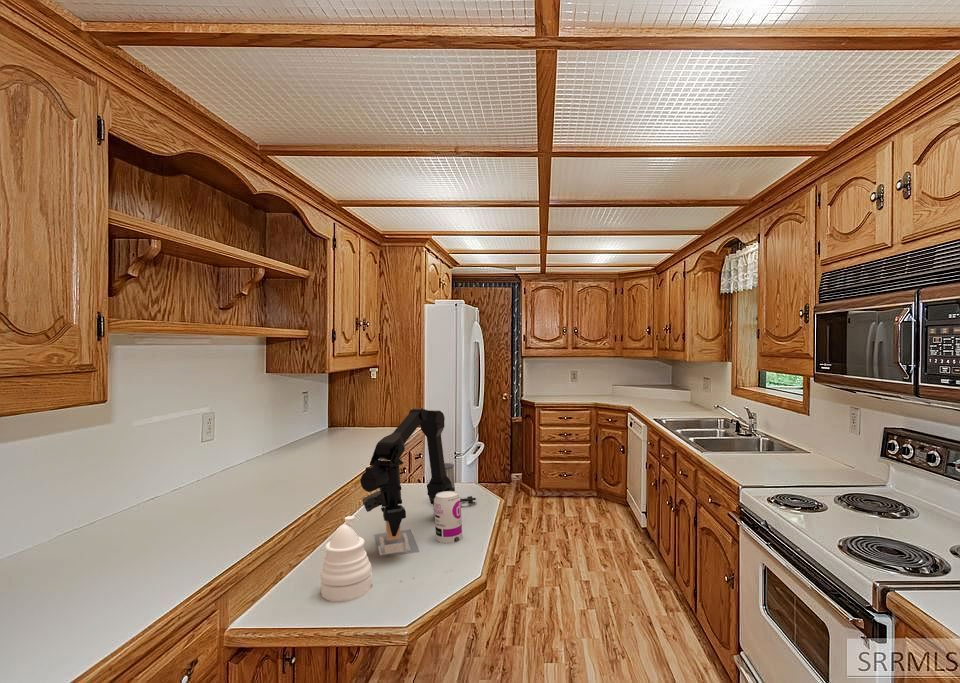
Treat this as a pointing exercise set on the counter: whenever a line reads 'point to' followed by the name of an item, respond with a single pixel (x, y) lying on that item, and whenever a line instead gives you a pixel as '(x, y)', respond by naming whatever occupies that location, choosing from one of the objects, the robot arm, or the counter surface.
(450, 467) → the milk frother
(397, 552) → the end holder
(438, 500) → the supplement can
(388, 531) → the orange rectangular block
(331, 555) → the honey pot
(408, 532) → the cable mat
